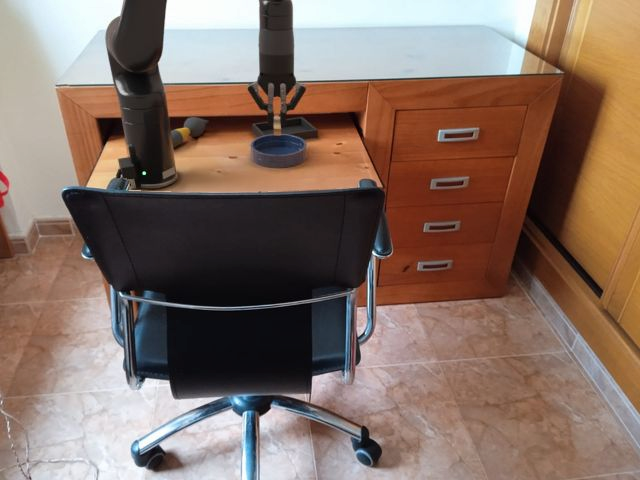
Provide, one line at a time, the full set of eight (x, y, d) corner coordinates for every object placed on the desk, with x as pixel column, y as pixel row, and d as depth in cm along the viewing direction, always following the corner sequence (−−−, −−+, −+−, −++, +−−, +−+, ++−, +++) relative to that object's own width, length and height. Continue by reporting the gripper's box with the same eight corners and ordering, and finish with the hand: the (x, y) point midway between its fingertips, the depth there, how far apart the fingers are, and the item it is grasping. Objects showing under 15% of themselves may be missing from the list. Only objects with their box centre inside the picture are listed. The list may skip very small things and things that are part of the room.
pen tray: (265, 147, 134) (265, 137, 132) (252, 132, 141) (251, 123, 140) (317, 138, 139) (317, 129, 137) (302, 125, 147) (302, 116, 145)
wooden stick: (281, 135, 120) (281, 128, 119) (273, 135, 120) (273, 128, 119) (280, 120, 128) (280, 113, 127) (273, 120, 128) (273, 113, 127)
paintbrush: (165, 159, 126) (162, 139, 123) (148, 155, 128) (144, 135, 125) (213, 132, 141) (211, 113, 139) (197, 128, 143) (195, 110, 140)
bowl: (262, 173, 121) (261, 159, 119) (243, 152, 131) (242, 138, 129) (315, 164, 126) (315, 150, 124) (293, 144, 136) (293, 130, 134)
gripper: (243, 53, 111) (246, 133, 120) (309, 54, 112) (307, 133, 121) (244, 44, 117) (247, 121, 126) (307, 45, 118) (305, 121, 128)
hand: (277, 126), depth 124 cm, fingers closed on wooden stick, 1 cm apart
